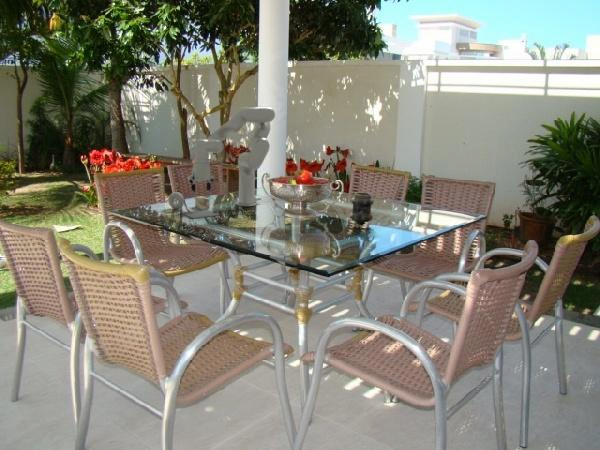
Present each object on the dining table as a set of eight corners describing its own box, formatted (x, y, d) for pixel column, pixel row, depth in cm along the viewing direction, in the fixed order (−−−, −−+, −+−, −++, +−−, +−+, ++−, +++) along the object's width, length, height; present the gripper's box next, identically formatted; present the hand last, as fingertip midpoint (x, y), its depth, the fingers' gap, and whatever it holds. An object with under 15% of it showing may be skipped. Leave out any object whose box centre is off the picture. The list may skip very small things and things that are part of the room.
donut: (185, 209, 319) (185, 192, 316) (182, 210, 316) (181, 193, 313) (170, 207, 322) (170, 190, 320) (167, 208, 319) (167, 191, 317)
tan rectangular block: (202, 206, 331) (202, 196, 329) (209, 208, 324) (209, 198, 322) (195, 206, 328) (195, 196, 326) (202, 209, 321) (202, 199, 320)
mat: (206, 210, 318) (206, 209, 318) (219, 215, 307) (219, 214, 307) (181, 213, 308) (181, 212, 308) (192, 219, 297) (192, 217, 297)
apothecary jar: (374, 225, 299) (376, 192, 295) (369, 230, 288) (371, 196, 284) (352, 223, 303) (354, 190, 299) (346, 227, 292) (348, 194, 288)
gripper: (211, 160, 327) (210, 188, 331) (185, 160, 317) (184, 190, 320) (218, 161, 322) (217, 190, 325) (191, 162, 311) (190, 192, 315)
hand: (200, 190), depth 323 cm, fingers open, 9 cm apart
